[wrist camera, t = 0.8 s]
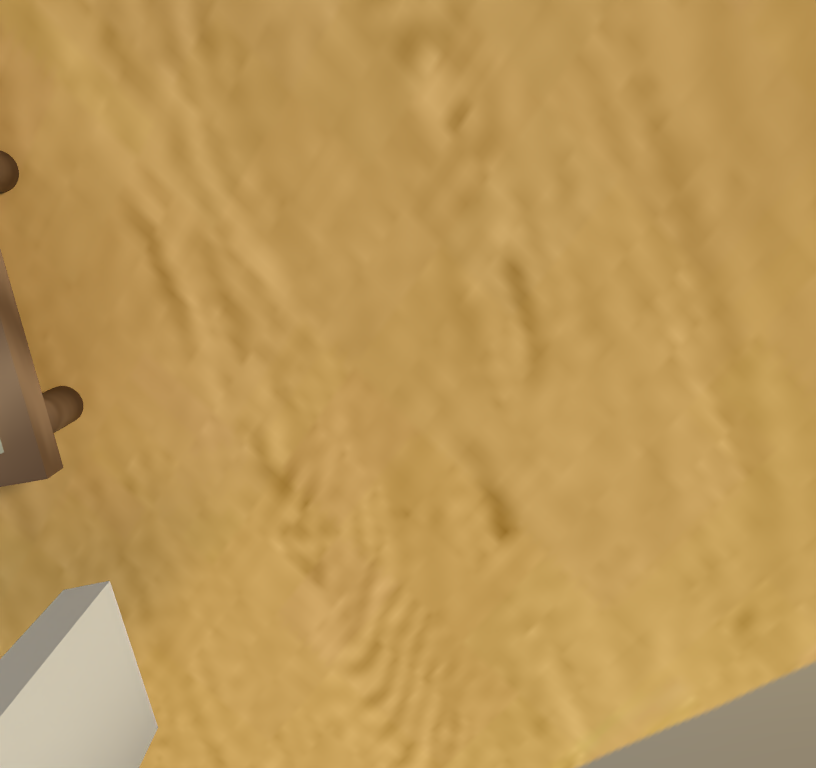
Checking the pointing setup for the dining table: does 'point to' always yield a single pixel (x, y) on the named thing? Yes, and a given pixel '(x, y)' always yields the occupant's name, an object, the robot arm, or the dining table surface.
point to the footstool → (26, 388)
